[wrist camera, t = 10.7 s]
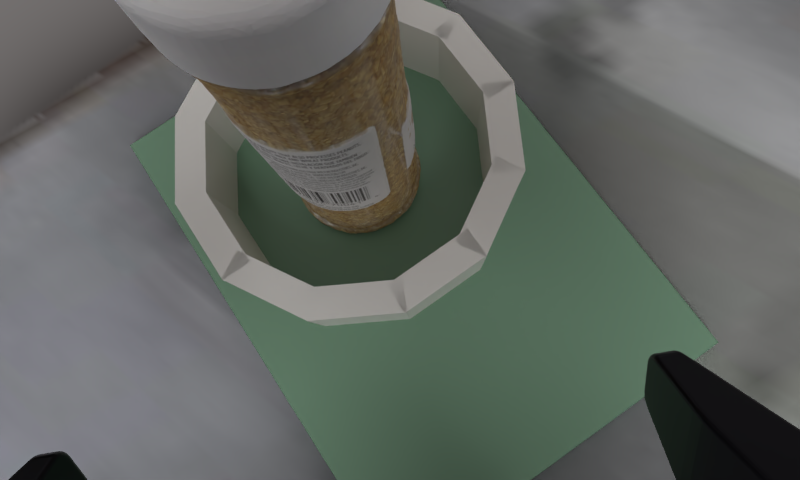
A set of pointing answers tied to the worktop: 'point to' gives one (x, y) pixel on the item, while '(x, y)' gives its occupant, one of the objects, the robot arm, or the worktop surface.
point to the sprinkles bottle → (305, 94)
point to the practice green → (432, 280)
